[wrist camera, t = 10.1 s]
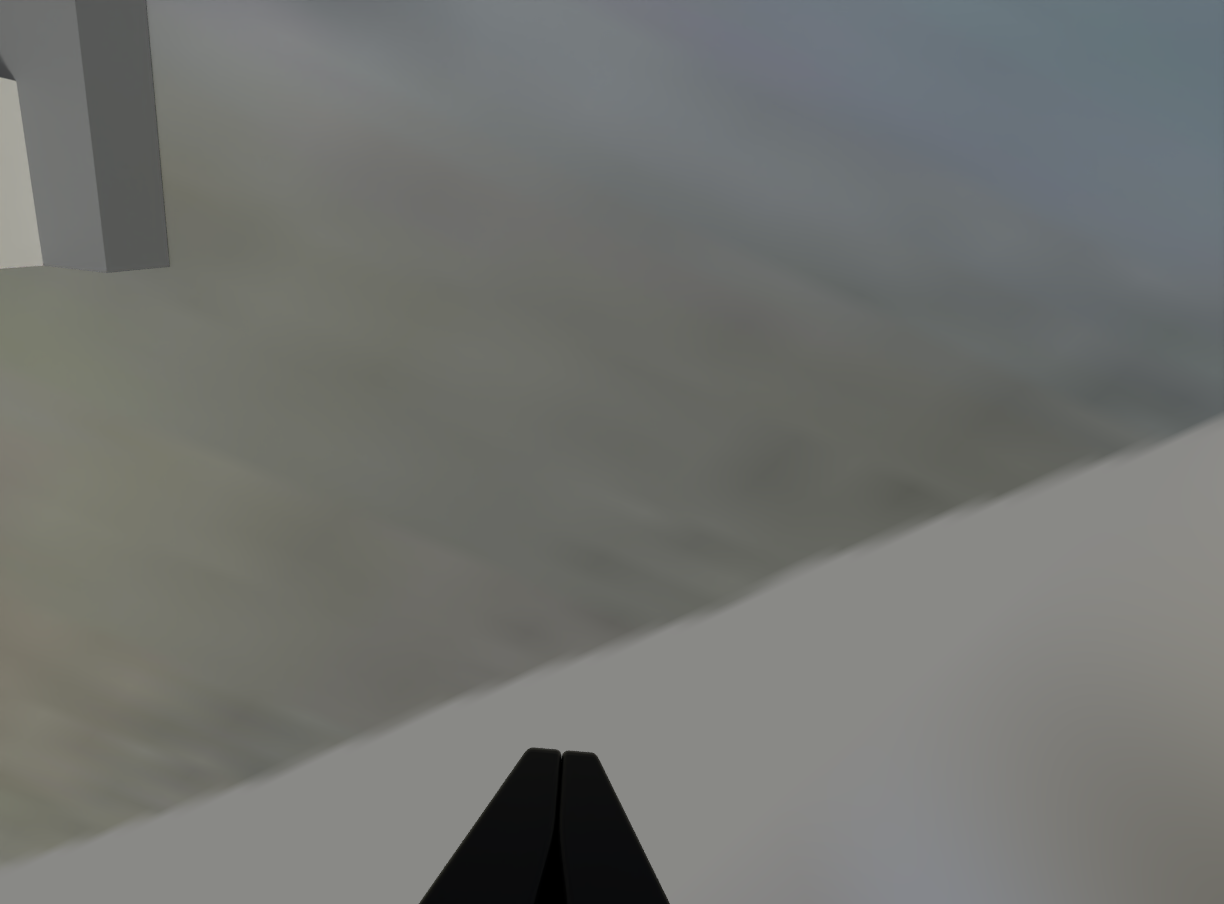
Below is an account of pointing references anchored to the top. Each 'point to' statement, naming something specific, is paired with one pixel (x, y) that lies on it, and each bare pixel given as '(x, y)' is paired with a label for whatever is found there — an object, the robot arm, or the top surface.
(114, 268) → the grey board
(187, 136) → the top surface
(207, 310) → the top surface
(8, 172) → the plug
